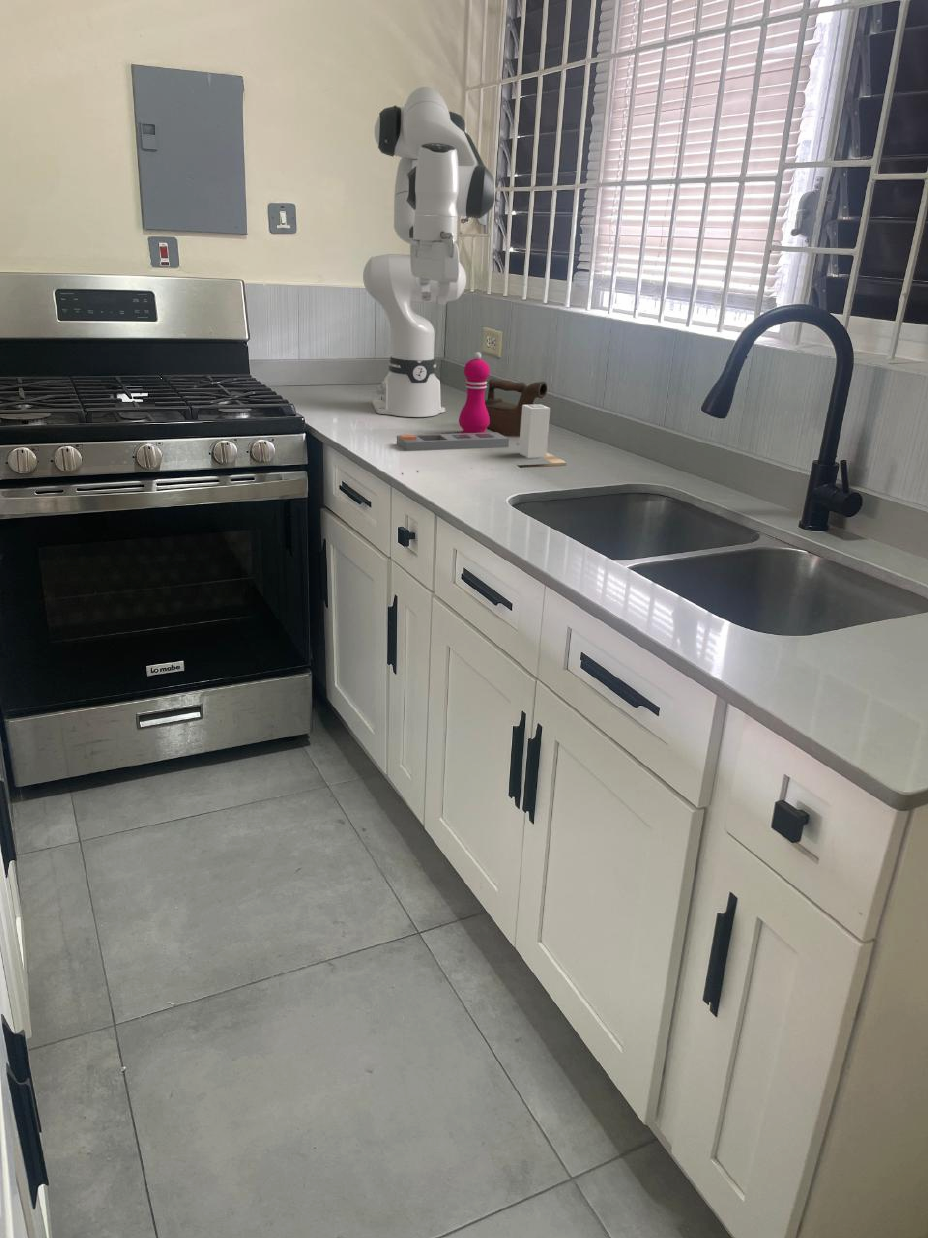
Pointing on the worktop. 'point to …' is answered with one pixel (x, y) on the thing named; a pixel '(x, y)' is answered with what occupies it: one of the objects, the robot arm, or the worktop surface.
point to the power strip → (452, 441)
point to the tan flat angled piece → (551, 459)
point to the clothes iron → (510, 405)
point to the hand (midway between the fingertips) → (433, 302)
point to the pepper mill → (475, 397)
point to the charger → (534, 431)
